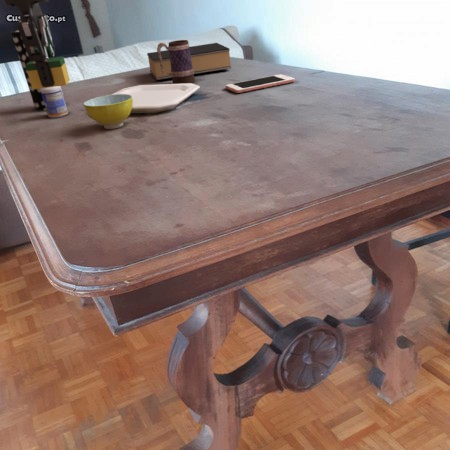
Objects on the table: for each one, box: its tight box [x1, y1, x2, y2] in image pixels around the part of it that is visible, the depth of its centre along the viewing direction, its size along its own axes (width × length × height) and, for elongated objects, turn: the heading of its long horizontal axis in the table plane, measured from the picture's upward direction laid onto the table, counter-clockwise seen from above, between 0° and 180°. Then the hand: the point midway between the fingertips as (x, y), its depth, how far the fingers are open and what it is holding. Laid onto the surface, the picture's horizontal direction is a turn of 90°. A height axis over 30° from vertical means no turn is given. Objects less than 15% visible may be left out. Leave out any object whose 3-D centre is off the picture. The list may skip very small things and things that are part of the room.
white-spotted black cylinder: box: [10, 29, 47, 112], centre depth 134 cm, size 8×8×20 cm
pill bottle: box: [40, 86, 69, 119], centre depth 127 cm, size 5×5×10 cm
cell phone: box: [225, 73, 296, 94], centre depth 134 cm, size 9×18×1 cm, turn 112°
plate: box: [111, 83, 201, 114], centre depth 130 cm, size 25×25×2 cm
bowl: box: [83, 93, 133, 130], centre depth 113 cm, size 11×12×6 cm
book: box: [146, 42, 232, 82], centre depth 160 cm, size 17×25×7 cm
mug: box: [156, 39, 196, 84], centre depth 144 cm, size 10×7×12 cm
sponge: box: [25, 56, 71, 89], centre depth 85 cm, size 6×4×4 cm
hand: (51, 82), depth 86 cm, fingers closed on sponge, 4 cm apart
